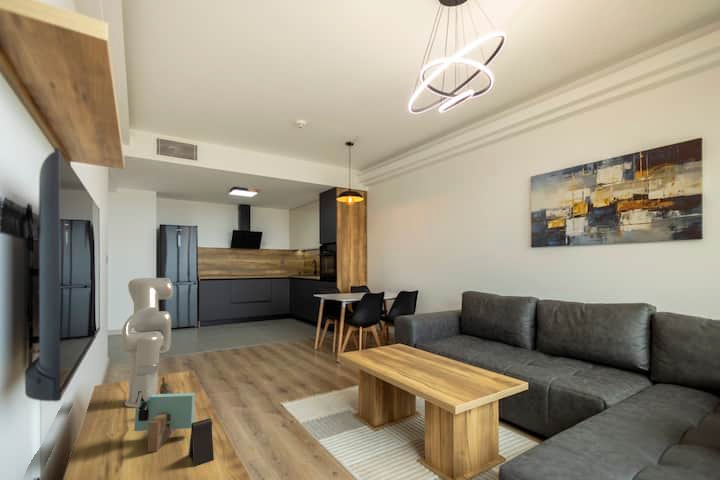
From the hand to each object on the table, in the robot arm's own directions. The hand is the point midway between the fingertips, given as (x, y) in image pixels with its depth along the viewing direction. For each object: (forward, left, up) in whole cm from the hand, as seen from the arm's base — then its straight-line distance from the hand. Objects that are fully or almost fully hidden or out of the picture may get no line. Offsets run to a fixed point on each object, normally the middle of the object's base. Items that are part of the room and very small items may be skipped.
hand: (145, 417), depth 130 cm
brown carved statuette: (-23, +1, -8) cm, 25 cm away
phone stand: (+16, +25, -8) cm, 31 cm away
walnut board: (0, +7, -8) cm, 10 cm away
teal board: (0, +7, -4) cm, 8 cm away
